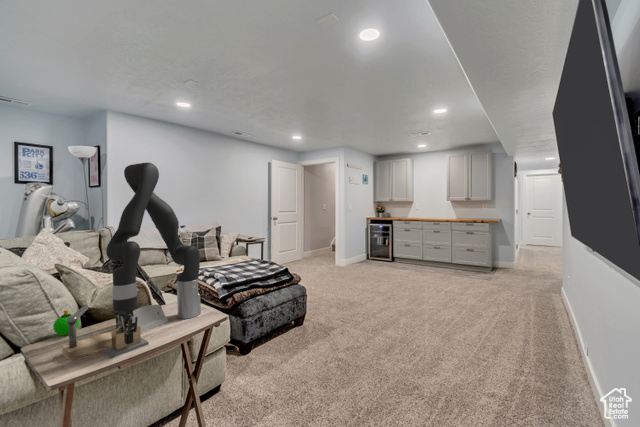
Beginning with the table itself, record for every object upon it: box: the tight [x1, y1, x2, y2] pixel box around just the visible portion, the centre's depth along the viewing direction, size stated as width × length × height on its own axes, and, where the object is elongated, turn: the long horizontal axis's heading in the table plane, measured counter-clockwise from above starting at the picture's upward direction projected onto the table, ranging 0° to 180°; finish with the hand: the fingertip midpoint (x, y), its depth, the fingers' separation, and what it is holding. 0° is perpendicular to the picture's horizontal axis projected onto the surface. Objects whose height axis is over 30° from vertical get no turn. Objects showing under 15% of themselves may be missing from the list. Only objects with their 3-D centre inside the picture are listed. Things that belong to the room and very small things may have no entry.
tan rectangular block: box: [111, 326, 142, 352], centre depth 109 cm, size 8×4×6 cm, turn 144°
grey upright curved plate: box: [127, 304, 169, 334], centre depth 128 cm, size 17×5×10 cm, turn 156°
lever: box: [66, 305, 89, 324], centre depth 109 cm, size 16×3×2 cm, turn 23°
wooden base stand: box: [62, 322, 118, 362], centre depth 110 cm, size 19×8×12 cm, turn 144°
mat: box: [103, 337, 149, 359], centre depth 109 cm, size 12×7×1 cm, turn 144°
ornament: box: [52, 309, 80, 336], centre depth 121 cm, size 8×8×10 cm
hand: (126, 341), depth 109 cm, fingers open, 4 cm apart
